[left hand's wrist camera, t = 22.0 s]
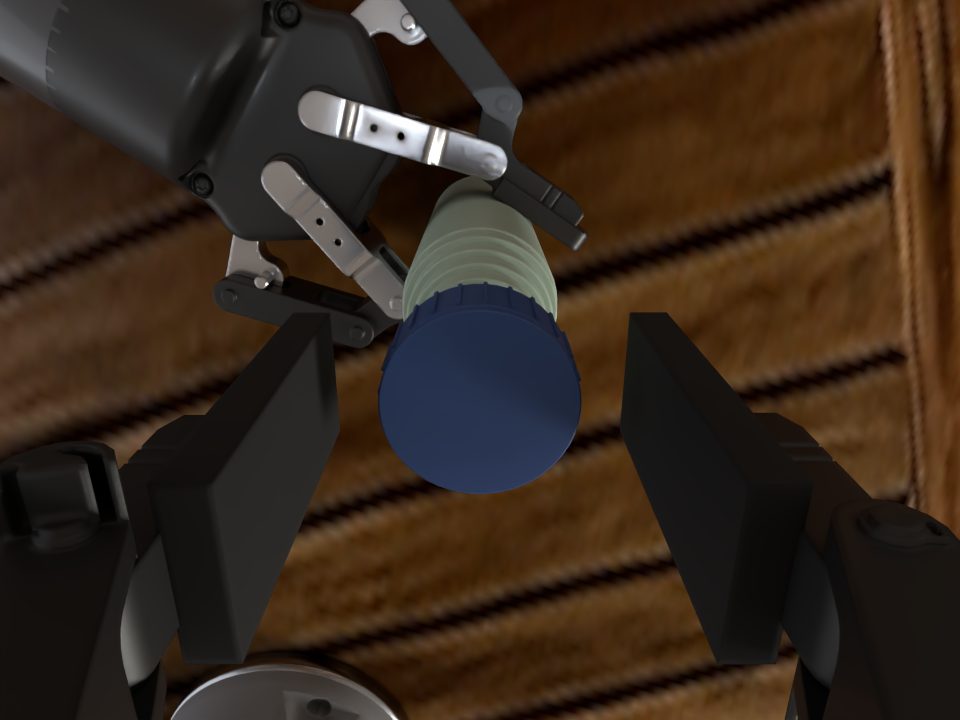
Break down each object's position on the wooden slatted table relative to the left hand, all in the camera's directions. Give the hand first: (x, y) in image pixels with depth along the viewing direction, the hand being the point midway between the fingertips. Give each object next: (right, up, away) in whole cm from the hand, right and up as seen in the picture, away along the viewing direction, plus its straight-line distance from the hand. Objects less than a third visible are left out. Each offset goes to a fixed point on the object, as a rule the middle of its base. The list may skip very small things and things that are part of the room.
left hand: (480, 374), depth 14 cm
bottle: (0, +7, +16) cm, 18 cm away
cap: (0, 0, -1) cm, 1 cm away
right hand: (+2, +3, +11) cm, 12 cm away
